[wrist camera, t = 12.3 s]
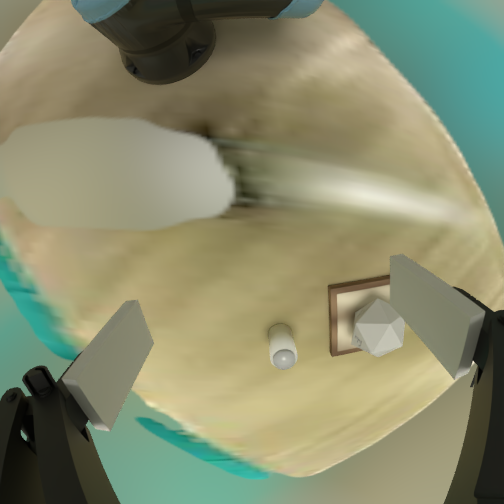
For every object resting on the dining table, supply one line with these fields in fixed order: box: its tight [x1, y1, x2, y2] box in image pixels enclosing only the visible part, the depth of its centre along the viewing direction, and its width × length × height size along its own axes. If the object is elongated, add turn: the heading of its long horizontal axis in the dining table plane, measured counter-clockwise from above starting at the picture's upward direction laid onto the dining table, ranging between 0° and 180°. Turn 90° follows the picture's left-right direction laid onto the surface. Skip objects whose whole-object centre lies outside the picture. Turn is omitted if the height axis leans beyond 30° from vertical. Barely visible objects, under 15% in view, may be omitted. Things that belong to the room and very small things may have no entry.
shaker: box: [268, 324, 298, 370], centre depth 42 cm, size 4×4×8 cm
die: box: [351, 298, 405, 357], centre depth 39 cm, size 8×9×10 cm
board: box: [328, 275, 390, 357], centre depth 44 cm, size 13×13×2 cm
